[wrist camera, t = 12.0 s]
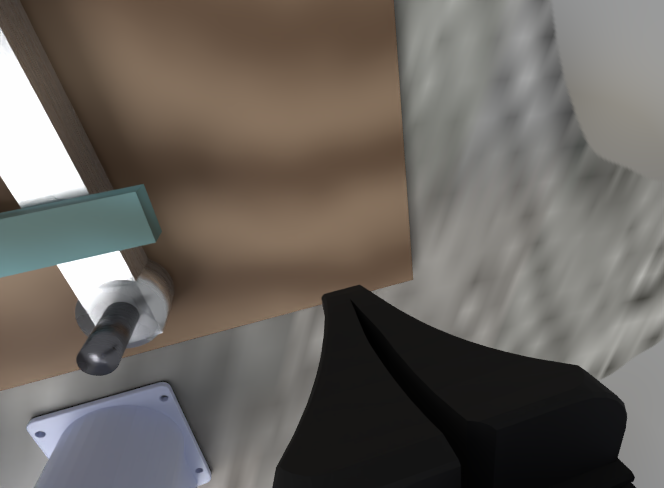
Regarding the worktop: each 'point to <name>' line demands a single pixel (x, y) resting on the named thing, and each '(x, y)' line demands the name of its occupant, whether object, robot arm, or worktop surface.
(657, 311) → the worktop surface
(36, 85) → the link
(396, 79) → the board
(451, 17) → the worktop surface
